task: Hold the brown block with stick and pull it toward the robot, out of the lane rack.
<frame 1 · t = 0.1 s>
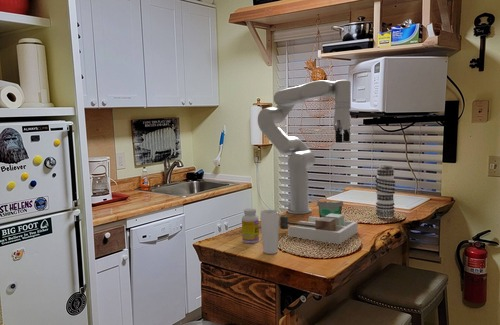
hand: (342, 141, 201), 37 cm above the countertop, tool pointing down, fingers open, 9 cm apart
brown block with stick: (305, 224, 172), point 5 cm above the countertop, slide at 0.0 cm
drinking glass: (270, 252, 151), on the countertop
sage block: (334, 229, 175), point 1 cm above the countertop, touching lane rack
food container: (329, 223, 193), on the countertop
lane rack: (323, 234, 173), on the countertop
supplement bottle: (250, 242, 166), on the countertop
decorative candle: (385, 217, 201), on the countertop
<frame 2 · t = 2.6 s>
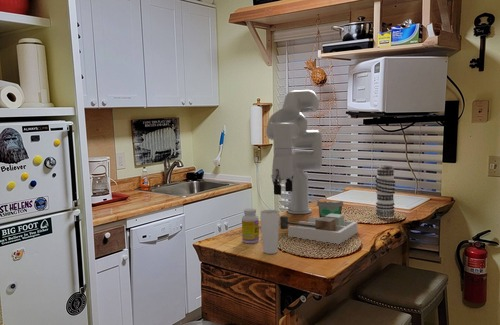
hand: (283, 192, 176), 17 cm above the countertop, tool pointing down, fingers open, 9 cm apart
nothing on the countertop moved.
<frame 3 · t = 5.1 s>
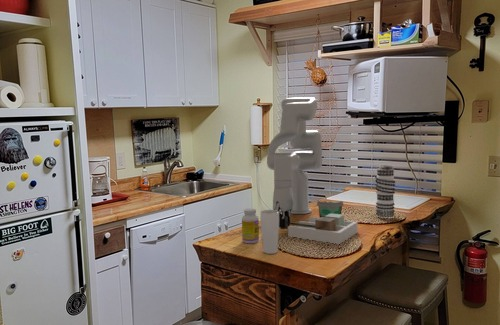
hand: (284, 226, 178), 3 cm above the countertop, tool pointing down, fingers closed on brown block with stick, 3 cm apart
brown block with stick: (305, 224, 172), point 5 cm above the countertop, slide at 0.0 cm, touching gripper
everything else where it was.
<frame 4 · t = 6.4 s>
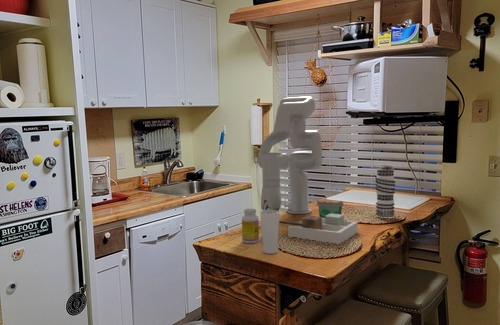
hand: (272, 224, 181), 3 cm above the countertop, tool pointing down, fingers closed on brown block with stick, 3 cm apart
brown block with stick: (292, 222, 175), point 5 cm above the countertop, slide at 5.9 cm, touching gripper
everything else where it was.
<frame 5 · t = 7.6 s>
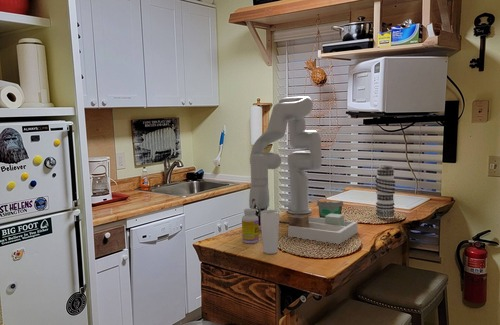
hand: (260, 223, 184), 3 cm above the countertop, tool pointing down, fingers closed on brown block with stick, 3 cm apart
brown block with stick: (280, 220, 178), point 5 cm above the countertop, slide at 11.9 cm, touching gripper
everything else where it was.
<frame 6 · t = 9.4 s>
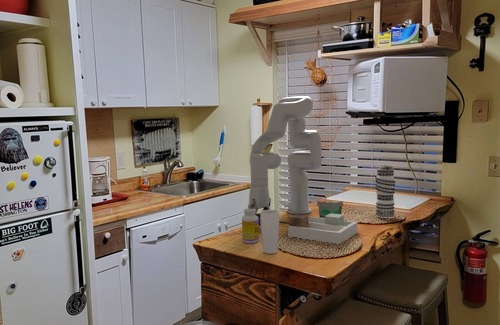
hand: (260, 220, 184), 4 cm above the countertop, tool pointing down, fingers open, 9 cm apart
brown block with stick: (280, 220, 179), point 5 cm above the countertop, slide at 12.0 cm
everything else where it was.
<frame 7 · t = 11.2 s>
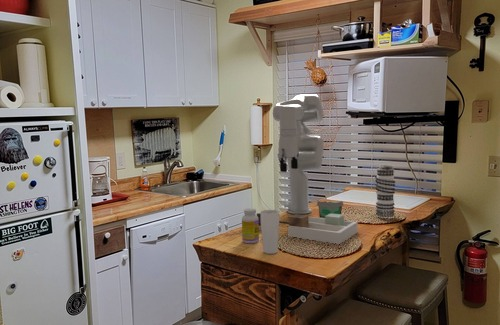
hand: (289, 170, 192), 25 cm above the countertop, tool pointing down, fingers open, 9 cm apart
nothing on the countertop moved.
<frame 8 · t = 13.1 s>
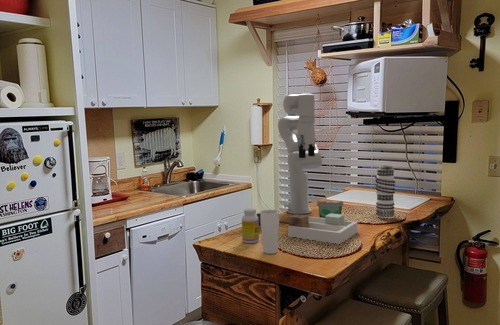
hand: (306, 157, 196), 30 cm above the countertop, tool pointing down, fingers open, 9 cm apart
nothing on the countertop moved.
at the end: brown block with stick slide at 12.0 cm; sage block moved 0.0 cm from its start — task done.
